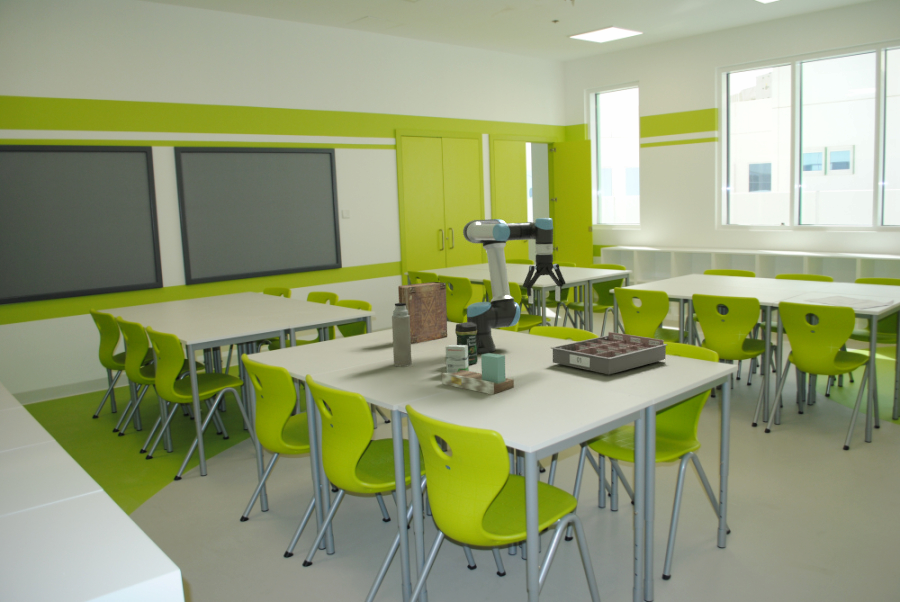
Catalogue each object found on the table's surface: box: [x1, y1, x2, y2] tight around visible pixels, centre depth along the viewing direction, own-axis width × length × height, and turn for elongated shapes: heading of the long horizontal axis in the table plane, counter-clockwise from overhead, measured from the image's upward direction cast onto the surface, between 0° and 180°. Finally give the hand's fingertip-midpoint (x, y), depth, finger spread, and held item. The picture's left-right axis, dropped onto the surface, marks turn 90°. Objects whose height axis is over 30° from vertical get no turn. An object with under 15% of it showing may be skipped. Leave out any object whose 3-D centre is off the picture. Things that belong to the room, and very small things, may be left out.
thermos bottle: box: [391, 302, 412, 367], centre depth 297 cm, size 8×8×28 cm
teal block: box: [480, 352, 506, 384], centre depth 253 cm, size 8×4×10 cm, turn 47°
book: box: [398, 281, 448, 345], centre depth 355 cm, size 25×9×30 cm, turn 130°
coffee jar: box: [454, 321, 479, 366], centre depth 296 cm, size 10×8×19 cm
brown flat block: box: [441, 370, 515, 395], centre depth 258 cm, size 26×13×4 cm, turn 47°
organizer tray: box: [550, 331, 668, 375], centre depth 288 cm, size 32×40×10 cm
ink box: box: [445, 344, 470, 374], centre depth 279 cm, size 9×5×12 cm, turn 71°
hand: (544, 302), depth 290 cm, fingers open, 13 cm apart
